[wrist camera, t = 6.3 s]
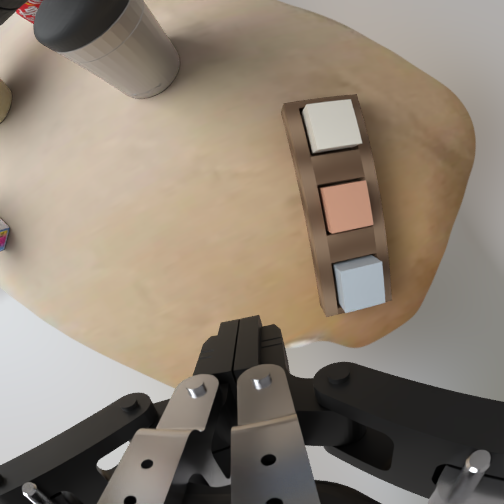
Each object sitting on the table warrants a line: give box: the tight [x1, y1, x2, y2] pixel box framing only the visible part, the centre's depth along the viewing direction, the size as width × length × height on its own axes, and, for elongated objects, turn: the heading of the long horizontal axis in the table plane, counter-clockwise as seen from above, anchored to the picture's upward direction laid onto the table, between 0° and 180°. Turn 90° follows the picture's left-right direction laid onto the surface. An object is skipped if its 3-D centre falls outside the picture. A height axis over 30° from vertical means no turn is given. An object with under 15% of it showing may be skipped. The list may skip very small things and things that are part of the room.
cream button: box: [302, 99, 362, 154], centre depth 29 cm, size 5×5×4 cm
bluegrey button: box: [333, 255, 385, 313], centre depth 33 cm, size 5×5×4 cm
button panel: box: [281, 94, 392, 317], centre depth 34 cm, size 25×9×4 cm, turn 13°
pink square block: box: [318, 180, 374, 234], centre depth 32 cm, size 5×5×4 cm
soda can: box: [16, 0, 43, 24], centre depth 24 cm, size 7×7×12 cm
